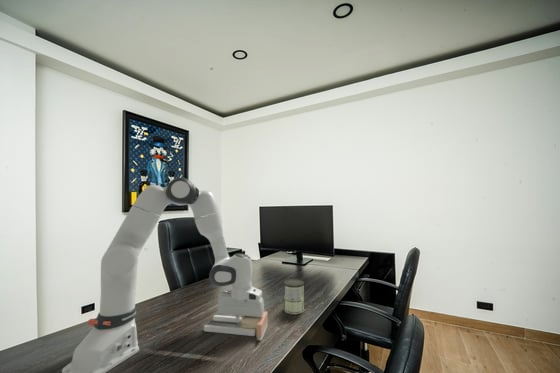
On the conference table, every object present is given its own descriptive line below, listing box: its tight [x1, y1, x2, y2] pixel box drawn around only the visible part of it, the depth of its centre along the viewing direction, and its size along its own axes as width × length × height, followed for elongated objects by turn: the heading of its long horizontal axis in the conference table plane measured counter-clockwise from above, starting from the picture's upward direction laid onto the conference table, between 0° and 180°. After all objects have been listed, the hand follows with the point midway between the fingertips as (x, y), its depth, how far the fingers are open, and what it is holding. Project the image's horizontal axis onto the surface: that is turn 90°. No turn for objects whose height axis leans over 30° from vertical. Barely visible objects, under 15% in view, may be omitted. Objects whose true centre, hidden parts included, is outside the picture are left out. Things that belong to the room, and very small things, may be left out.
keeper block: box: [241, 316, 260, 335], centre depth 101 cm, size 7×7×5 cm
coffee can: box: [283, 278, 305, 315], centre depth 123 cm, size 10×10×14 cm
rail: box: [201, 310, 269, 341], centre depth 103 cm, size 12×26×6 cm, turn 81°
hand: (240, 324), depth 102 cm, fingers closed
